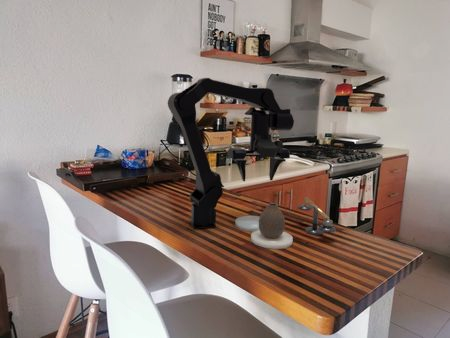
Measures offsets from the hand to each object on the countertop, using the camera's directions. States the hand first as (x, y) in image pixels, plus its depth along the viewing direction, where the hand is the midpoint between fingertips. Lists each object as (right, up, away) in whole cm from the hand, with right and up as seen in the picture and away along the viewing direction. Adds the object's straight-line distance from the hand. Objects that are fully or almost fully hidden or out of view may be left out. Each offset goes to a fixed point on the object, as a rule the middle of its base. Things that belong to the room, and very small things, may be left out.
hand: (257, 180), depth 106 cm
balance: (+16, -15, -8) cm, 23 cm away
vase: (+2, -14, -16) cm, 22 cm away
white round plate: (-2, -13, -4) cm, 14 cm away
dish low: (+2, -15, -16) cm, 22 cm away
